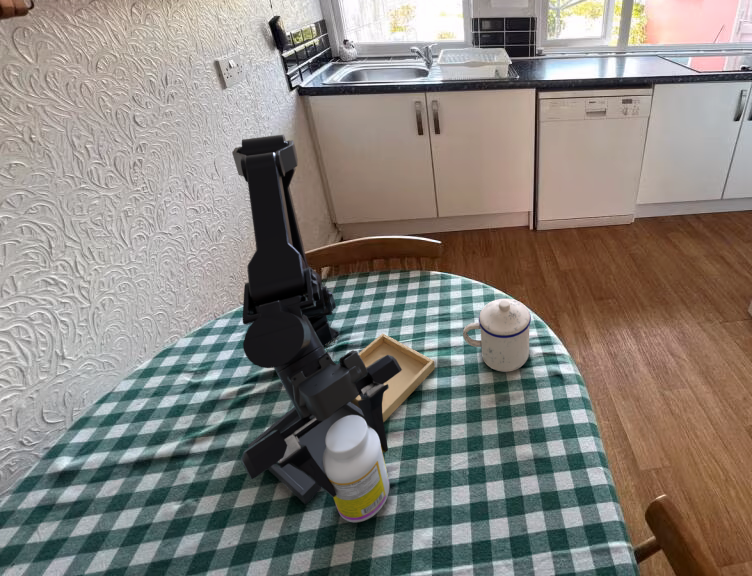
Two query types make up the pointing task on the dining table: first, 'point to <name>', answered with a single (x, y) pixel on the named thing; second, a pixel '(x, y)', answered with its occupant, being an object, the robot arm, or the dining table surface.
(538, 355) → the dining table surface
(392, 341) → the light tray
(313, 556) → the dining table surface
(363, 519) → the supplement bottle
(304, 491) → the dark tray
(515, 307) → the teacup with lid
